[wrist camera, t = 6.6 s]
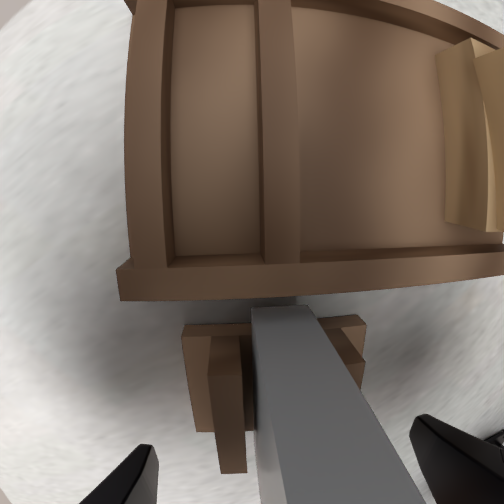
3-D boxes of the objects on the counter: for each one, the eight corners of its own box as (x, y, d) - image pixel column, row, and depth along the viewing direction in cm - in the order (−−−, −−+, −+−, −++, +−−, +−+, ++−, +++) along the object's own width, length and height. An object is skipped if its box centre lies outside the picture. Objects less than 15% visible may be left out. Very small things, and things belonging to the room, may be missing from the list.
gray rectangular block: (307, 304, 11) (442, 533, 2) (297, 439, 12) (342, 608, 4) (251, 307, 11) (302, 578, 2) (253, 443, 12) (276, 620, 4)
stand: (357, 314, 12) (395, 356, 9) (343, 405, 13) (368, 455, 10) (184, 324, 12) (170, 375, 8) (198, 417, 13) (192, 473, 9)
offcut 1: (494, 78, 9) (529, 69, 7) (501, 222, 11) (539, 231, 8) (434, 55, 9) (470, 37, 7) (444, 221, 11) (486, 231, 8)
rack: (477, 49, 10) (508, 37, 7) (486, 259, 12) (520, 272, 10) (141, 7, 9) (125, -25, 6) (141, 277, 11) (120, 301, 9)
